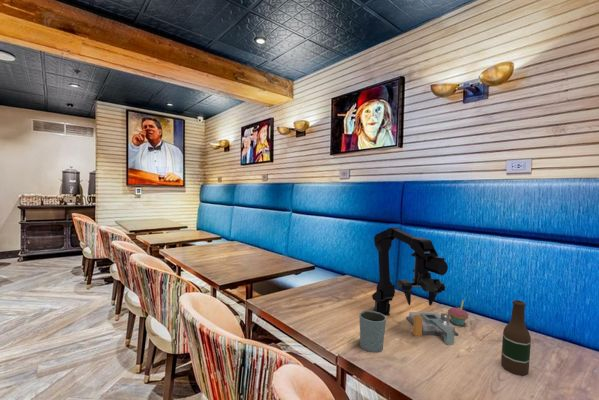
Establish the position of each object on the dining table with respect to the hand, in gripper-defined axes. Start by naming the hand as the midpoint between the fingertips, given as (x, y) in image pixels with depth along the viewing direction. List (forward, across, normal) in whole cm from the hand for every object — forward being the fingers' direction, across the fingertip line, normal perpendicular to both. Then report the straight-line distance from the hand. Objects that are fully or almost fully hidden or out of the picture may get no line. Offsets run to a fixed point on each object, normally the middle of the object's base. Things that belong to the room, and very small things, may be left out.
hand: (419, 305), depth 122 cm
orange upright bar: (+13, 0, 0) cm, 13 cm away
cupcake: (+13, +25, +11) cm, 30 cm away
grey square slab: (+13, +10, +4) cm, 16 cm away
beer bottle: (+13, +23, -24) cm, 36 cm away
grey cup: (+13, -24, -10) cm, 29 cm away
